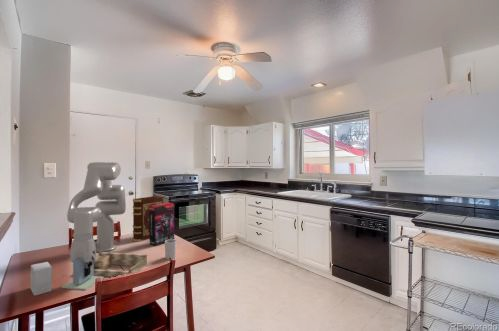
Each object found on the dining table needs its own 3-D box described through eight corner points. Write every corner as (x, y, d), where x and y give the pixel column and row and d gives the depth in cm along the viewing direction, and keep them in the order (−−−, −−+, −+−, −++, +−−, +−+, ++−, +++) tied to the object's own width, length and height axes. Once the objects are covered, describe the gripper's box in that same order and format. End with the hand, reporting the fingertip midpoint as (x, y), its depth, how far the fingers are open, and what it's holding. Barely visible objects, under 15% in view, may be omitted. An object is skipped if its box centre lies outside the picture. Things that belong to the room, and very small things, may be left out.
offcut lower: (88, 273, 132) (88, 267, 132) (99, 265, 141) (99, 260, 141) (100, 273, 132) (100, 267, 132) (111, 266, 141) (111, 261, 140)
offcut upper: (90, 267, 132) (90, 261, 132) (97, 261, 140) (97, 256, 140) (103, 266, 133) (103, 261, 133) (109, 260, 141) (109, 255, 141)
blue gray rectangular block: (73, 284, 116) (73, 260, 116) (87, 275, 125) (87, 253, 125) (79, 284, 116) (79, 260, 116) (93, 275, 125) (93, 253, 125)
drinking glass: (166, 260, 149) (166, 243, 148) (163, 256, 154) (163, 240, 154) (177, 257, 153) (178, 241, 152) (174, 254, 158) (174, 238, 158)
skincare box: (52, 290, 113) (52, 267, 113) (34, 296, 108) (33, 271, 108) (48, 283, 120) (47, 260, 120) (30, 288, 115) (30, 264, 115)
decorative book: (137, 242, 181) (137, 200, 181) (130, 240, 186) (130, 199, 185) (163, 234, 200) (163, 196, 200) (156, 233, 205) (156, 195, 204)
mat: (61, 288, 115) (61, 286, 115) (81, 276, 127) (81, 275, 127) (85, 289, 114) (85, 288, 114) (104, 277, 126) (104, 276, 126)
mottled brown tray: (79, 274, 130) (79, 262, 130) (100, 262, 145) (100, 252, 144) (131, 277, 126) (131, 265, 126) (146, 265, 141) (146, 254, 141)
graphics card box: (154, 246, 172) (154, 206, 172) (148, 244, 176) (148, 205, 175) (174, 240, 186) (174, 203, 186) (168, 238, 190) (168, 202, 190)
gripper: (61, 238, 118) (61, 277, 118) (93, 239, 116) (93, 280, 116) (74, 233, 125) (74, 270, 125) (105, 235, 123) (105, 272, 123)
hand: (83, 274), depth 121 cm, fingers closed on blue gray rectangular block, 3 cm apart
